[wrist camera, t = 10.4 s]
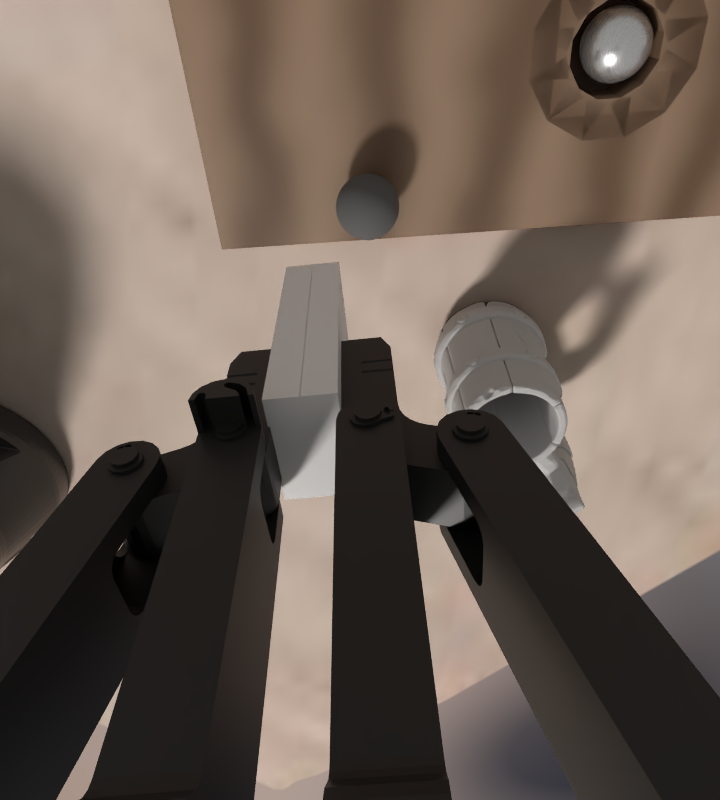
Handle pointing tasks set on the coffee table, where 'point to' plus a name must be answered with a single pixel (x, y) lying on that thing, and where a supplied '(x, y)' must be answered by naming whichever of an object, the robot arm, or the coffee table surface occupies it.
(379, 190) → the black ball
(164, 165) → the coffee table surface
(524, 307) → the coffee table surface
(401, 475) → the robot arm
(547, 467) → the mug
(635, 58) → the steel ball
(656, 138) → the deck
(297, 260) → the coffee table surface
